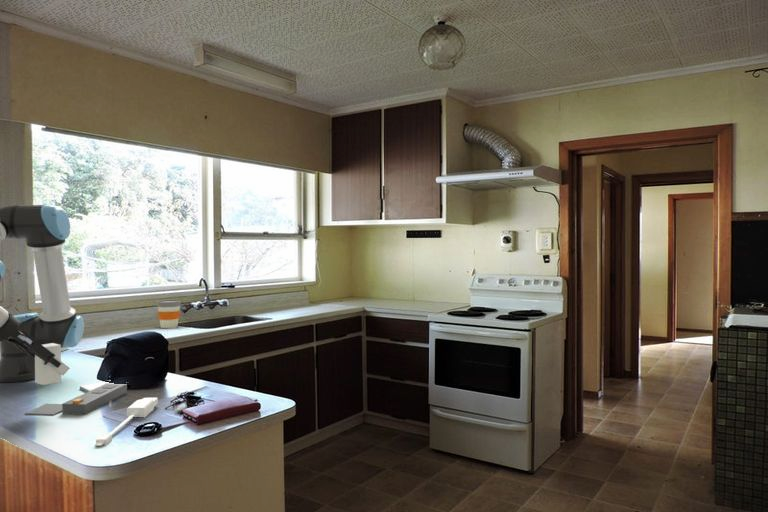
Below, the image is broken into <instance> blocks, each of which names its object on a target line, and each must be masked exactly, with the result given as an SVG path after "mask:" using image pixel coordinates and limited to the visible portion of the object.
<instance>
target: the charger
mask: <svg viewBox="0 0 768 512" xmlns="http://www.w3.org/2000/svg"><path fill="white" fill-rule="evenodd" d="M42 346H44V347H45V348H46V349H48V350H49V351H50V352H52V353H53V354H55V357H56V358H57V359H59V360H60V361H61V362H62V351H61V345H59V344H55V343H50V344H43V345H42ZM44 363H45V361H44V360H42V359H41V358H39V357H38V356H36V355H35V379H34V382H35V384H37V385H38V384H39V385H40V386H41V385H42V386H46V385H50V384H56V383H60V382H62V375H61V374H60V373H58V372H57V371H56V370H54V369H53V368H52V367H50V366H49V365H48V364H46V365H45V364H44Z"/></svg>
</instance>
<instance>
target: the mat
mask: <svg viewBox="0 0 768 512" xmlns="http://www.w3.org/2000/svg"><path fill="white" fill-rule="evenodd" d="M62 404H63V403H44V404H43V405H40V406H38V407H35V408H34V409H31V410H29V411H26V412H24V415H28V416H29V415H30V416H31V415H32V416H56V415H58V414H60V413H62Z"/></svg>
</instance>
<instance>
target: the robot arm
mask: <svg viewBox="0 0 768 512" xmlns="http://www.w3.org/2000/svg"><path fill="white" fill-rule="evenodd" d="M69 219H70V218H69V216H68V214H67V212H66V211H65V210H64V209H63V208H62V207H60V206H58V205H47V204H25V205H24V204H11V205H5V206H1V207H0V244H1V243H2V242H4V241H6V240H16V239H18V240H25V243H26V247H28V248H29V249H31V250H32V254H33V259H34V265H35V270H36V276H37V282H38V288H39V293H40V301H41V306H42V312H41V313H40V314H39V313H38V312H29V313H21V314H16V315H12V313H9V311H8V310H6V309H5V307H3V306H1V305H0V355H1V356H0V383H18V382H19V381H20V382H26V380H27V381H31V379H32V380H35V355H36V356H38V357H39V358H41V359H42V360H44V361H45V363H44V364H45V365H46V364H48V365H49V366H50V367H52V368H53V369H54V370H56V371H57V372H58V373H60V374H61V376H65V375H66V373H68V371H69V370H70V369H71V368H70V367H69V366H68V365H66V364H65V363H64V362H63V361H62V360H61V361H60V360H59V359H57V358H56V357H55V354H53V353H52V352H50V351H49V350H48V349H46V348H45V347H44V346H42V345H43V344H50V343H55V344H59V345H61V348H68V347H69V348H75V347H77V346H78V345H79V343H80V342H81V340H82V337H83V335H84V330H85V319H84V317H83V316H81V315H77V311H76V309H75V308H74V307H72V306H71V303H70V296H69V291H68V283H67V276H66V271H65V270H66V269H65V263H64V256H63V250H62V246H64V244H65V243H66V239H68V238H69V237H70V233H71V224H70V223H71V222H70V220H69ZM5 273H6V266H5V264H4V262H3V261H1V260H0V282H2V280H3V276H4V275H5ZM69 348H68V349H69ZM20 382H19V383H20Z"/></svg>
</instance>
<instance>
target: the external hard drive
mask: <svg viewBox="0 0 768 512" xmlns="http://www.w3.org/2000/svg"><path fill="white" fill-rule="evenodd" d="M106 383H109V382H105V381H100V382H95V383H90V384H84V385H80V386H79V390H80V389H81V391H82V392H84V393H87V392H89V391H91V390H93V389H95V388H98V387H100V386H102V385H104V384H106ZM111 384H114V383H111Z"/></svg>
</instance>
